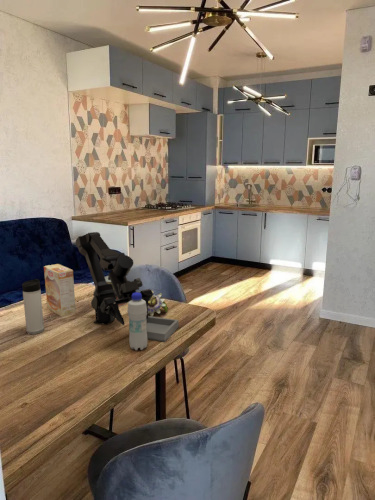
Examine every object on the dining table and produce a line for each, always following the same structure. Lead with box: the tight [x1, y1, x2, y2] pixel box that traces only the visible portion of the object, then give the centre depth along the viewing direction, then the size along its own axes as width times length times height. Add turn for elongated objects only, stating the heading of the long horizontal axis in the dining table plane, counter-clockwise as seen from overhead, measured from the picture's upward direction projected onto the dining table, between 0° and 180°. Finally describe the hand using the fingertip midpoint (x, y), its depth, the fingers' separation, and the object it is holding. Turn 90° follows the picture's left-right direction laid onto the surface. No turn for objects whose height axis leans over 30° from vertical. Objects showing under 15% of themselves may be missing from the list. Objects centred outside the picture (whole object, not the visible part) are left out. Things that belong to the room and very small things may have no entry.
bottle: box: [127, 291, 149, 351], centre depth 130 cm, size 7×7×20 cm
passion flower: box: [148, 290, 169, 317], centre depth 164 cm, size 11×11×12 cm
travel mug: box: [21, 278, 45, 335], centre depth 144 cm, size 6×7×20 cm
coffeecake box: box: [43, 263, 77, 317], centre depth 166 cm, size 15×7×20 cm, turn 42°
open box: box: [146, 315, 180, 343], centre depth 144 cm, size 14×14×3 cm
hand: (135, 321), depth 131 cm, fingers open, 9 cm apart
